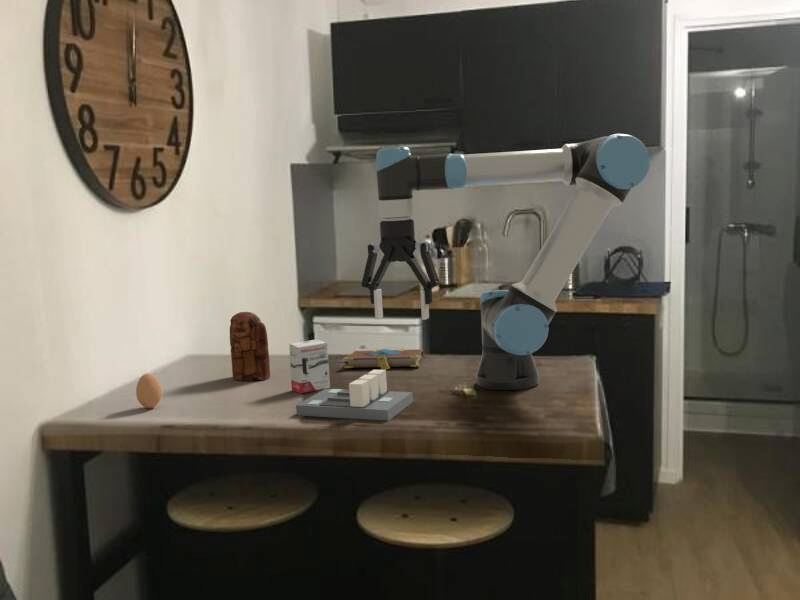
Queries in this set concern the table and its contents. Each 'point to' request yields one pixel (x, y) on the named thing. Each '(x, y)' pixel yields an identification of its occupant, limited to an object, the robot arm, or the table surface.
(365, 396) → the tab
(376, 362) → the book
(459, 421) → the table surface
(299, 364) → the ink box
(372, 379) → the tab
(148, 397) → the egg
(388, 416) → the switch bank
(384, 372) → the tab
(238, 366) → the wooden figurine
